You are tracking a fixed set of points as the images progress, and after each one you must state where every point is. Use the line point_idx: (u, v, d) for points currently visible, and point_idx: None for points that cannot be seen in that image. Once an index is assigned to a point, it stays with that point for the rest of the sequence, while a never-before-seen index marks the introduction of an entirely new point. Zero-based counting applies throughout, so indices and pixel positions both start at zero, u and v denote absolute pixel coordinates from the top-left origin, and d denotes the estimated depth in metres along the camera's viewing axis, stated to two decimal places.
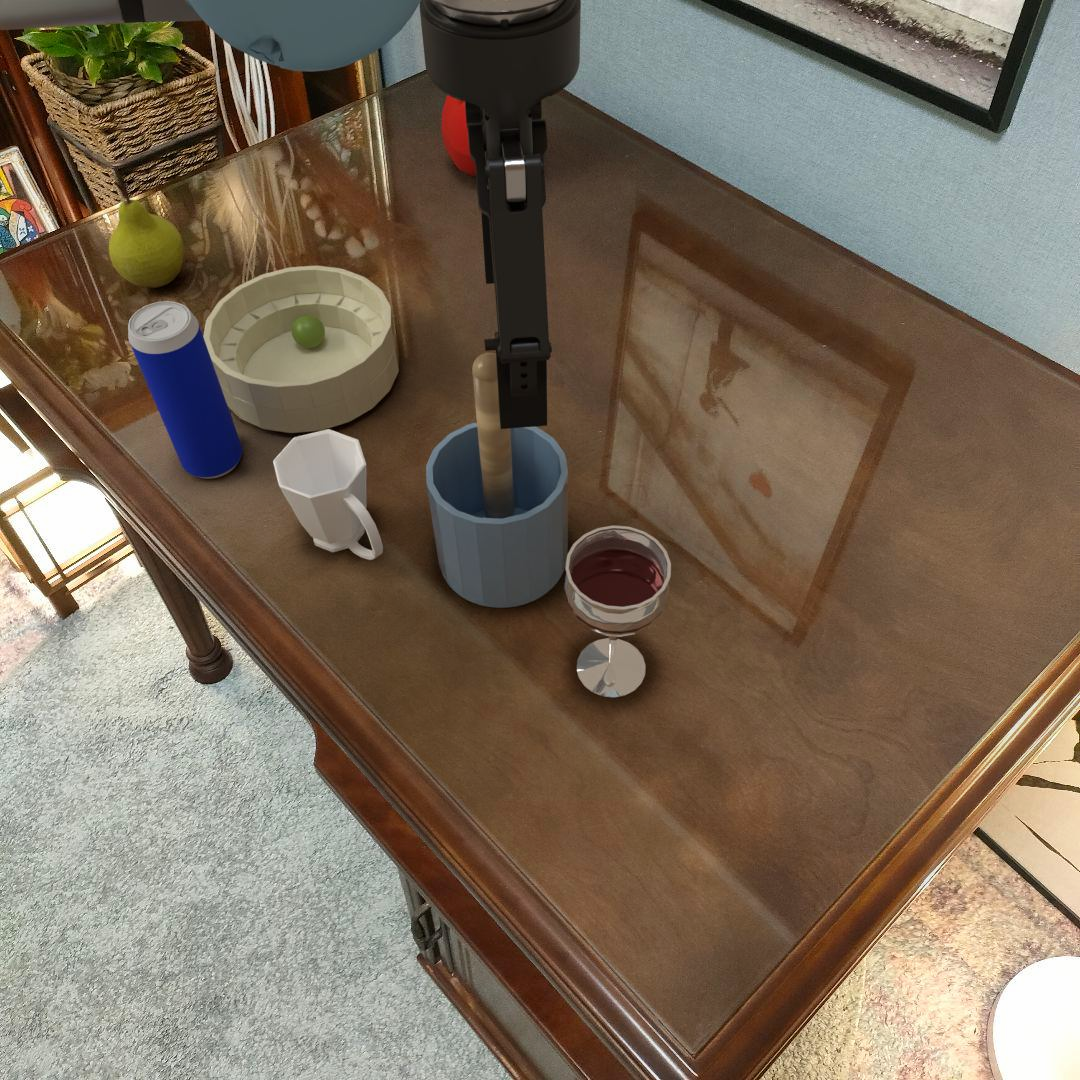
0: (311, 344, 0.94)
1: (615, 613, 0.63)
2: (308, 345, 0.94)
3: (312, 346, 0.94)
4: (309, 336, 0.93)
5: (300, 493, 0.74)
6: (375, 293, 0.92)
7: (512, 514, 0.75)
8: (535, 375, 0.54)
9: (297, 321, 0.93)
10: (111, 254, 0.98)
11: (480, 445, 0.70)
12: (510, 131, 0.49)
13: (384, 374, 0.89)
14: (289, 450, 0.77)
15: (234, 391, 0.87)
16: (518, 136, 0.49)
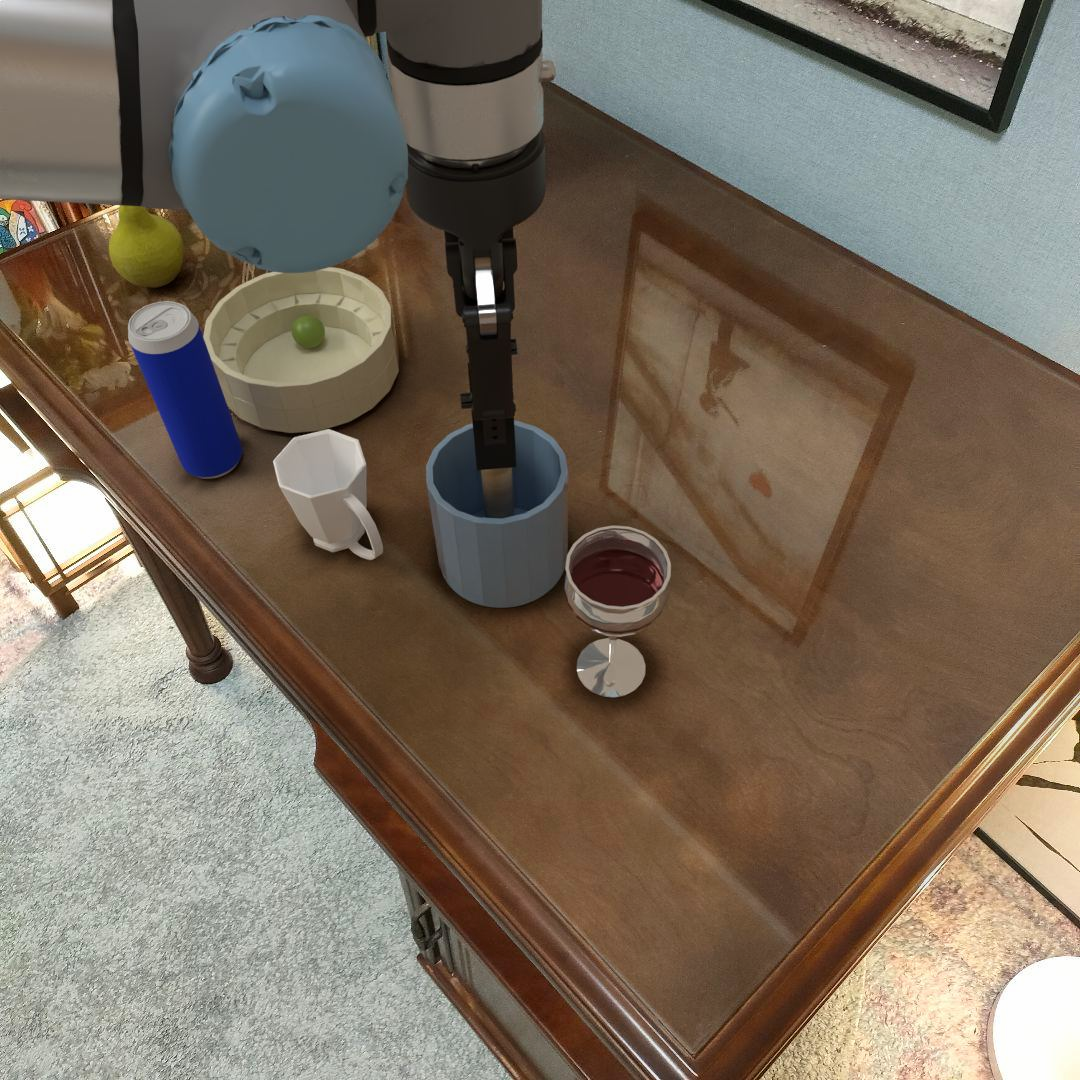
0: (311, 344, 0.94)
1: (615, 613, 0.63)
2: (308, 345, 0.94)
3: (312, 346, 0.94)
4: (309, 336, 0.93)
5: (300, 493, 0.74)
6: (375, 293, 0.92)
7: (512, 514, 0.75)
8: (504, 428, 0.65)
9: (297, 321, 0.93)
10: (111, 254, 0.98)
11: None
12: (482, 255, 0.54)
13: (384, 374, 0.89)
14: (289, 450, 0.77)
15: (234, 391, 0.87)
16: (490, 259, 0.54)
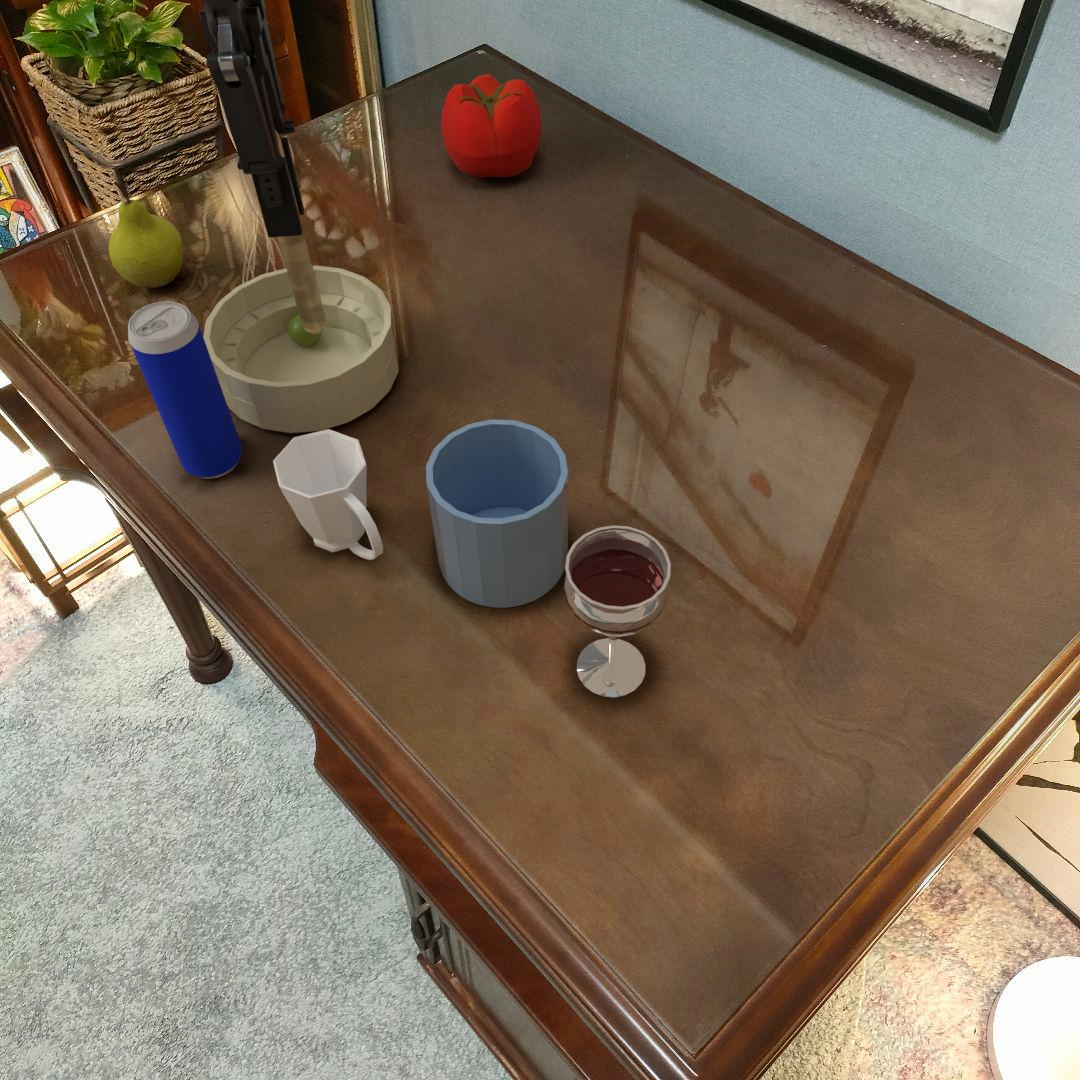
0: (308, 340, 0.94)
1: (615, 613, 0.63)
2: (305, 341, 0.94)
3: (309, 342, 0.94)
4: (303, 331, 0.93)
5: (300, 493, 0.74)
6: (375, 293, 0.92)
7: (314, 289, 0.89)
8: (278, 189, 0.79)
9: (292, 320, 0.94)
10: (111, 254, 0.98)
11: None
12: (222, 12, 0.68)
13: (384, 374, 0.89)
14: (289, 450, 0.77)
15: (234, 391, 0.87)
16: (228, 16, 0.68)
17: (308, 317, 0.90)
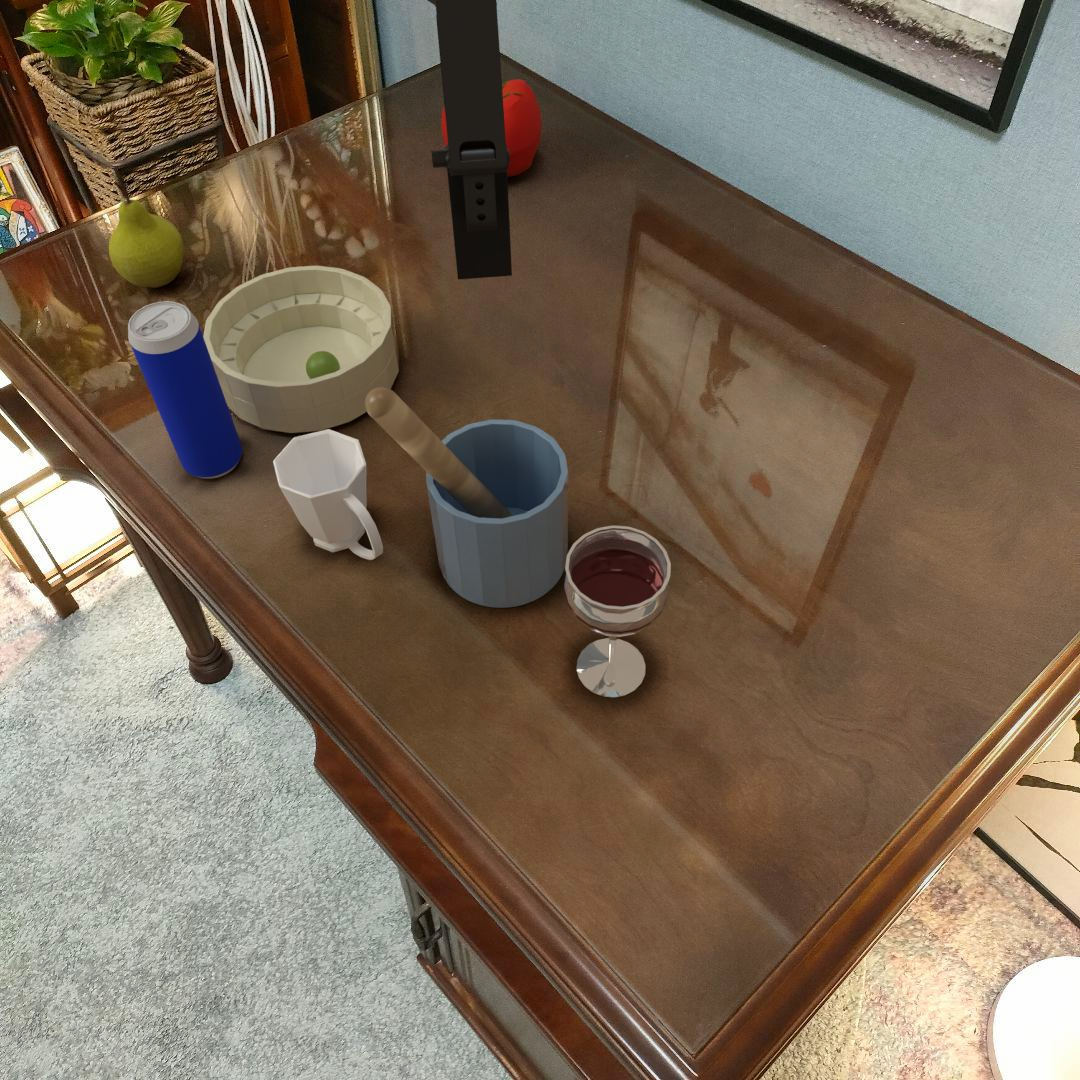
0: (313, 358, 0.90)
1: (615, 613, 0.63)
2: (315, 356, 0.90)
3: (311, 357, 0.90)
4: (320, 364, 0.90)
5: (300, 493, 0.74)
6: (375, 293, 0.92)
7: (502, 515, 0.75)
8: (494, 201, 0.46)
9: None
10: (111, 254, 0.98)
11: None
12: None
13: (384, 374, 0.89)
14: (289, 450, 0.77)
15: (234, 391, 0.87)
16: None
17: None
